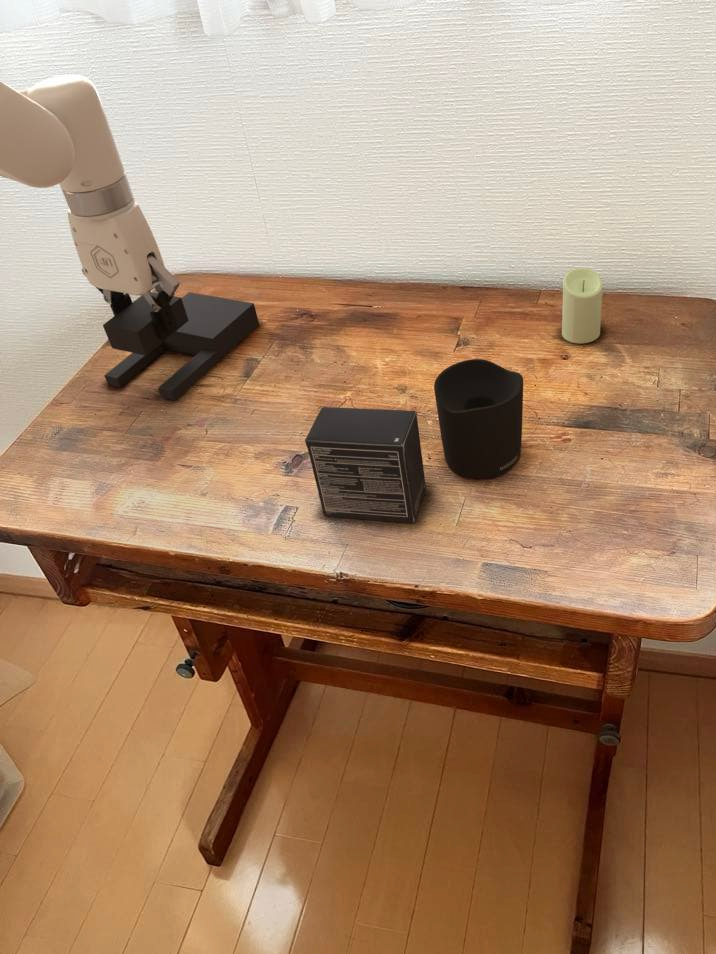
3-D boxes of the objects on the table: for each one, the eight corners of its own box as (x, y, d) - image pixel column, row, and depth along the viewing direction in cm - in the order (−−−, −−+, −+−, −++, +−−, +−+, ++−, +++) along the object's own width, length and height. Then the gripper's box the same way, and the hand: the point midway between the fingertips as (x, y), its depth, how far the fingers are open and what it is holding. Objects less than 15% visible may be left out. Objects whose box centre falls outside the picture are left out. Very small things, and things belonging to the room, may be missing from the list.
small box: (428, 484, 92) (419, 407, 85) (415, 525, 88) (404, 447, 81) (338, 478, 95) (321, 402, 88) (321, 517, 90) (302, 441, 83)
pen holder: (446, 488, 92) (439, 415, 85) (437, 437, 98) (429, 365, 91) (531, 477, 91) (531, 402, 84) (516, 426, 98) (514, 353, 91)
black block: (146, 355, 107) (137, 332, 105) (112, 348, 110) (102, 324, 107) (189, 320, 113) (181, 297, 110) (155, 314, 115) (146, 291, 113)
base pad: (174, 400, 110) (166, 378, 108) (107, 384, 115) (98, 362, 112) (259, 324, 122) (254, 303, 120) (195, 312, 127) (189, 291, 124)
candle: (605, 339, 109) (609, 281, 103) (569, 347, 109) (571, 289, 103) (591, 321, 113) (594, 264, 107) (556, 328, 112) (557, 272, 107)
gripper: (24, 202, 99) (82, 334, 112) (133, 216, 93) (182, 355, 105) (68, 176, 104) (119, 306, 116) (175, 188, 97) (217, 325, 110)
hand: (148, 328), depth 111 cm, fingers closed on black block, 6 cm apart
